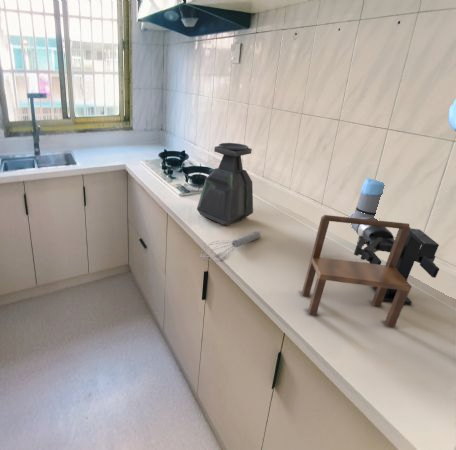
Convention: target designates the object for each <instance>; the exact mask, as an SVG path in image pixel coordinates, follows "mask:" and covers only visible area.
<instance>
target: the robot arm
mask: <svg viewBox="0 0 456 450" xmlns="http://www.w3.org/2000/svg"><path fill="white" fill-rule="evenodd" d="M447 121H448V124H449V127H450V128H451V129H452V130H453V131H455V132H456V97H455V98H454V101H453V103H452V104H451V105H450V107H449V110H448V115H447ZM384 186H385V185H384V183H383V182H380V181H377V180H374V179H370V177H367V178H366V179H364V182H363V184H362V187H361V188H360V193H359V196H358V201H357V205H356V207H355V209H356V210H355V209H354V210H355V213H354V214H352V215H351V216H350V218H359V219H369V220H377V219H375V218H374V216H375V214H376V210H377V207H378V204H379V200H380V197H381V195H382V194H383V189H384ZM361 212H362V213H361ZM364 213H365V214H364ZM351 225H352V227H351V229H352V228H353V229H354V230H353V229H352V230H353V231H354V232H355V231H356V232H355V233H356V234H357V235H358V237H357V242H356V246H355V249H354V252H353V255H354V256H357V257H358V256H359V255H360V260H363V261H366V262H368V263H371V264H379V265H382V259H380V258H379V257H378V255H377V254H376V252H386V253H390V252H391V249H392V246H393V244H394V241H395V238H394V235H393V233H392V232H391V231H390V229H388V227H380V226H371V225H361V224H352V223H351ZM351 225H350V226H351ZM365 245H366V246H365ZM364 246H365V247H364ZM363 247H364V248H363ZM419 250H420V249H419ZM435 259H436V255H435V256H434V258H432V257H423V256H419V255H418V254H417V257H416V259H415V261H414V262H415V263H419V266H420V267H421V268H422V269H423V270H424V271H425V272H426V273H427V274H428V275H429V276H430V277H431V278H432V279H433V278H437V275H438V273H439V271H440V268H439V266H437V265H436V264H435Z"/></svg>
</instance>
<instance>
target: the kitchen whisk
mask: <svg viewBox="0 0 456 450" xmlns="http://www.w3.org/2000/svg"><path fill="white" fill-rule="evenodd" d="M260 237H261V232H260V231H252V232H250V233H248V234H245V235H242V236H241V237H238V238H236V239H233V240H231V241H223V243H220V244H219V240H217V241H213V242H210V243H209V244H207V245H205V246H204V252H201V255H200V257H203V262H208V261H210V262H209V264H210V265H213V264H216V263H218V262H220V261H222V260H224V259H225V258H227V257H229V255H230V253H233V252H234V250H235V249H236V248H239V247H241V246H243V245H246V244H247V243H250V242H252V241H255V240H258V239H259V238H260ZM213 244H214V245H216V246H214V247H213V248H211V249H210V250H209V251H206V249H207V247H209V246H212V245H213ZM217 244H218V245H217ZM226 244H227V245H226ZM222 245H223V246H222ZM219 246H221V247H219ZM228 246H230V247H229V248H226V249H225V250H224V251H222V252H220V253H217V254H214V255H212V257H211V255H208V253H210V252H212V251H215V250H219V249H221V248H225V247H228ZM227 251H230V253H227V254H226V255H224V256H223V257H222V258H220V259H219V260H216V261H214V262H212V259H214V258H216V257H218V256H219V255H221V254H223V253H225V252H227ZM210 257H211V258H210Z"/></svg>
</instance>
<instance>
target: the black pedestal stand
mask: <svg viewBox="0 0 456 450" xmlns="http://www.w3.org/2000/svg"><path fill="white" fill-rule="evenodd" d="M410 228H411V227H410ZM439 246H440V244H439V243H438V242H436V241H435V240H434V239H432V238H431V237H430V236H429V235H428V234H426V233H425V232H424V231H422V230H421V229H419V228H411V229H410V231H409V234H408V236H407V239H406V242H405V244H404V247H403V249H402V252H401V255H400V257H399V260H398V263H397V265H396V269H397V270H398V271H399V273H400V274H401V275H402V276H403V277H404V278H405V279H406V281H407V282H408V278H409V276H410V274H411V271H412V269H413V267H414V264H415V262H416V261H415V259H416V257H417V254H418V255H419V256H423V257H432V258H434V256H435V257H436V253H437V252H438V248H439ZM419 249H420V250H419ZM372 288H373V290H374V291H375V292H376V290H377V287H374V286H372ZM396 292H397V289H389V288H388V289H387V291H386V294H385V296H384V299H383V302H385V303H392V302H393V300H394V297H395V295H396ZM412 302H413V301H411V299H410V298H409V297H408V296H407V298H406V300H405V303H404V305H407V306H411V305H412Z"/></svg>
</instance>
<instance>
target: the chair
mask: <svg viewBox="0 0 456 450" xmlns="http://www.w3.org/2000/svg"><path fill="white" fill-rule="evenodd" d="M330 222H334V223H344V224H350V223H352V224H361V225H371V226H380V227H386V228H390V229H391V228H392V229H398V230H397V233H396V234H395V235H396V236H395V238H394V240H395V241H394V244H393V246H392V249H391V252H389V255H388V257H387V260H386V263H385V264H381V265H379V264H371V263H370V262H361V261H354V260H345V259H337V258H331V257H330V258H329V257H321V254H322V250H323V246H324V243H325V239H326V235H327V233H328V228H329V226H330V225H329V224H330ZM410 229H411V227H410V223H405V222H399V221H398V222H396V221H387V220H379V221H378V220H369V219H359V218H350V217H349V216H340V215H330V214H329V215H328V214H323V215H322V216H321V218H320V221H319V225H318V229H317V233H316V236H315V240H314V244H313V248H312V252H311V256H310V260H309V264H308V267H307V271H306V275H305V277H304V283H303V287H302V291H301V294H302V296H303V297H310V294H311V291H312V287H313V284H314V279H315V276H316V275H317V276H316V281H315V284H314V288H313V292H312V294H311V295H312V296H311V299H310V302H309V306H308V309H307V312H308V314H309V316H310V315H311V316H315V317H316V316H317V313H318V310H319V307H320V304H321V300H322V296H323V294H324V293H323V292H324V289H325V285H326V282H327V281H330V282H338V283H346V284H353V285H361V286H366V287H367V286H369V287H373V286H374V287H377V290H376V291H375V292H374V295H373V298H372V300H371V303H372V305H373V306H374V307H379V308H381V307H382V304H383V302H384V301H383V299H384V296H385V294H386V291H387V289H388V288H389V289H397V292H396V295H395V297H394V300H393V302H391V305H390V308H389V310H388V312H387V315H386V317H385V320H384V324H385V325H386V327H388V328H395V327H396V324H397V322H398V320H399V317H400V315H401V313H402V309H403V308H404V306H405V304H404V303H405V300H406V298H407V297H408V296H409V293H410V291H411V288H412V285H411V284H410V283H409V282H408V280H407V281H406V279H405V278H404V277H403V276H402V275H401V274H400V273H399V271H398V270H397V269H396V265H397V263H398V260H399V257H400V255H401V252H402V249H403V247H404V244H405V242H406V239H407V236H408V234H409V231H410Z"/></svg>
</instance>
